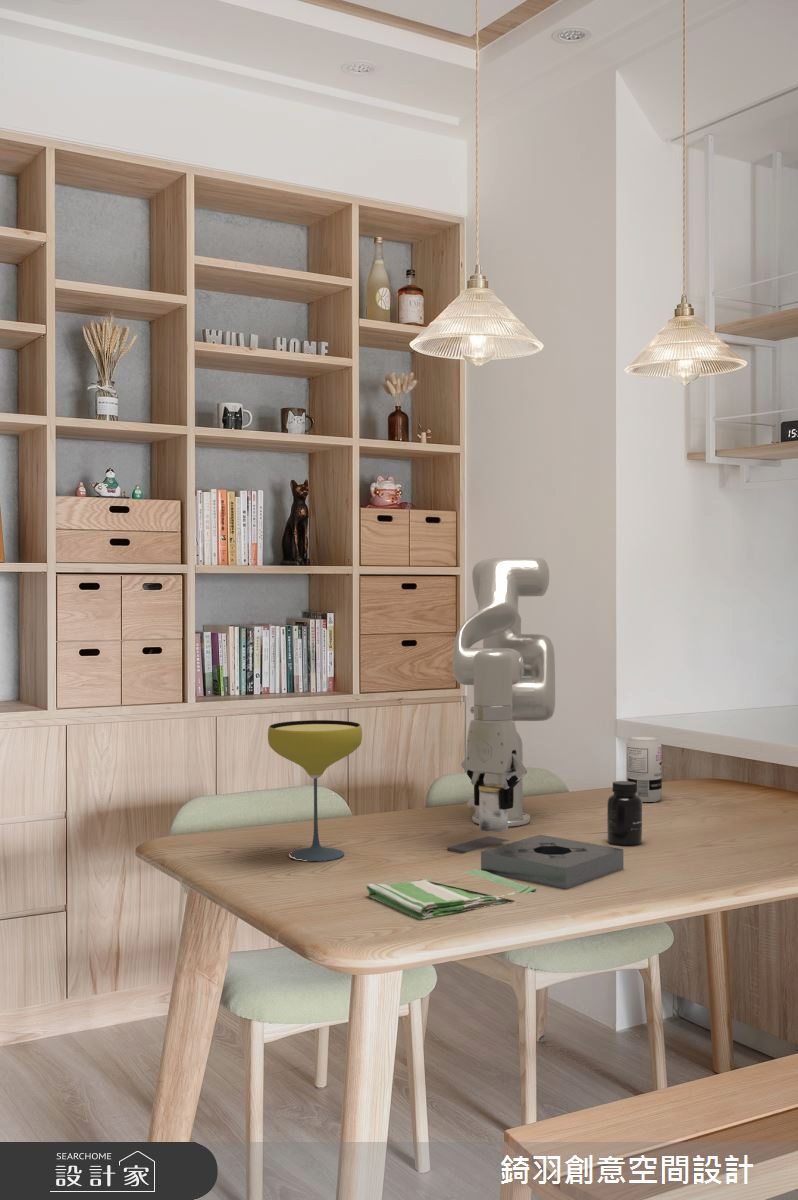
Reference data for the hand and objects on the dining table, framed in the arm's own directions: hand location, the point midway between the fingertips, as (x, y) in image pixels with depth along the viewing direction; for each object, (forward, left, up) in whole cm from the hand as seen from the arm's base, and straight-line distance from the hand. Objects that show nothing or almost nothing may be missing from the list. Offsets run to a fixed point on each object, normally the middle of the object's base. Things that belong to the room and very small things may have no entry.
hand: (493, 805), depth 218 cm
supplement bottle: (+16, +22, -9) cm, 29 cm away
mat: (0, 0, -9) cm, 9 cm away
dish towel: (+15, -31, -9) cm, 36 cm away
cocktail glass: (-23, -26, -9) cm, 36 cm away
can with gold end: (0, 0, -5) cm, 5 cm away
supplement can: (-4, +64, -9) cm, 65 cm away
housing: (+20, -9, -9) cm, 23 cm away
